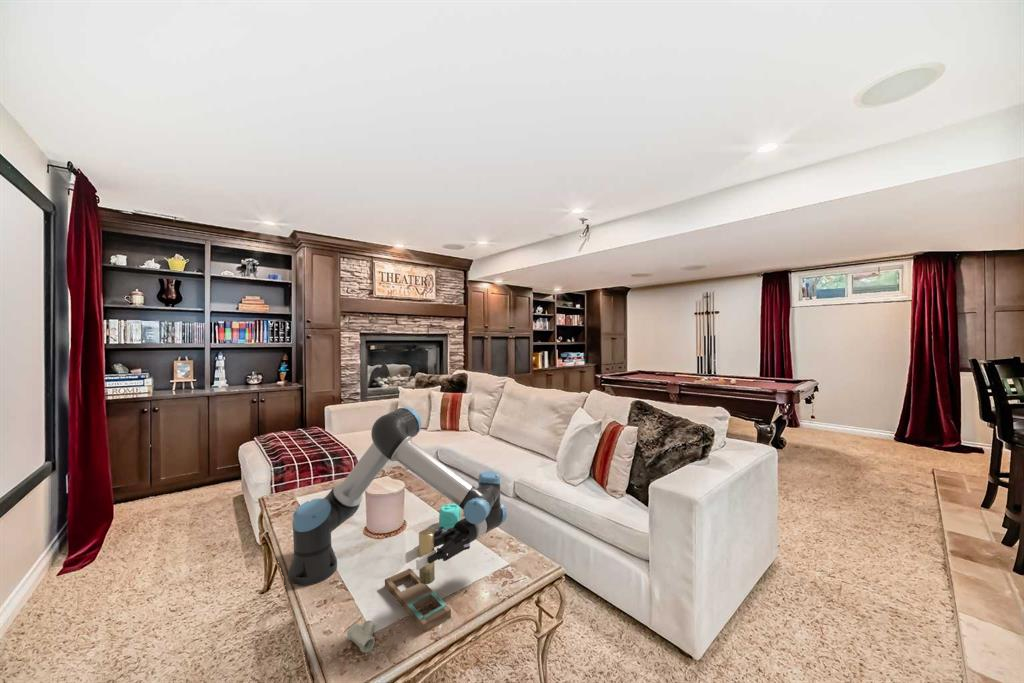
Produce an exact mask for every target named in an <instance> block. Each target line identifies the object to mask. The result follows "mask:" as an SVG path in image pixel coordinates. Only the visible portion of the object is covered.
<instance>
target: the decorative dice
mask: <svg viewBox="0 0 1024 683" xmlns="http://www.w3.org/2000/svg"><path fill="white" fill-rule="evenodd" d="M461 509H462V508H460V507H459V506H458V505H456V504H455V503H446V504H444V505H442V506H441V507H440V509H439V514H438V515H439V517H438V523H439V524H438V525H439V528H440V527H444V530H448V529H450V528H453V527H454V526H455V524H456V523H457V522H458V521H460V520H462V519H461V518H462V517H461V516H462V510H461Z"/></svg>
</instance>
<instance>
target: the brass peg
mask: <svg viewBox="0 0 1024 683" xmlns="http://www.w3.org/2000/svg"><path fill="white" fill-rule="evenodd" d="M434 532H435V531H434V529H422V530H421V531H420V532H419V533H418V546H419V557H418V558H420V557H422V556H424V555H426V554H427V553H429V552H431V551H433V550H435V547H434ZM435 565H436V564H435V561H434V562H432V563H429V564H428V565H426V566H424V567H422V568H421V569H419V570H418V572H419V574H418V577H419V581H420V583H422V584H426V585H430V584H432V583H433V582H434V581H435V578H436V577H435V574H436V573H435V571H436V569H435Z"/></svg>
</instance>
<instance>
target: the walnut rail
mask: <svg viewBox="0 0 1024 683" xmlns="http://www.w3.org/2000/svg"><path fill="white" fill-rule="evenodd" d="M409 582H411V583H412V584H413V586H410V587H408V588H406V589H403V590H402V591H401V590H400V589H399V588H398V587H400V586H402V585H404V584H407V583H409ZM384 588H385V589H386V590H387V591H388V592H389V594H390V595H391V596H392V597H393V598H394V600H395V601H396V602H397V603H398V604H399V606H400V607H401V608H402V609H403V611H404V612H405V613H406V614H407V615H408V617H409V618H410V619H411V620H412V621H413V622H414V624H415V625H416V626H417V627H418V628H419V630H420V631H421V633H423V634H424V633H426V632H427V631H429V630H431V629H433V628H435V627H437V626H438V625H440V624H442V623H444V622H445V621H447V620H449V619H451V618H452V609H451V608H450V607H449V606H448V605H447V603H446V602H445V601H443V599H442V598H441V597H440V596H439V595H437V593H436V592H435V591H434V590H432V589H431V588H430V586H428V584H422V583H420V581H419V575H417V573H416V572H415V571H413V570H412V568H407V569H404V570H403V571H400V572H398V573H396V574H394V575H393V574H392V576H389V577H386V578H385V579H384ZM430 604H432V605H433V606H434V607H435V609H433V610H431V611H429V612H427V613H426V614H424V615H422V614H421V612H420V611H419V610H420V609H422V608H425V607H426V606H429V605H430Z"/></svg>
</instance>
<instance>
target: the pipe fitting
mask: <svg viewBox="0 0 1024 683" xmlns="http://www.w3.org/2000/svg"><path fill="white" fill-rule="evenodd" d="M375 624H376V623H375V622H374V621H373V620H367V621H365V622H364V623H363V624H362V625H361V624H359V623H353V624H352V625H350V626H349V628H348V629H347V633H346V637H347V639H348V640H349V641H352V642H353V643H354V644H355V646H358V648H359V651H360V652H361V653H363V654H368V653H369V652H370V651H371V650H373V648H374V647H375V637H374V632H375V629H376V625H375Z"/></svg>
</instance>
